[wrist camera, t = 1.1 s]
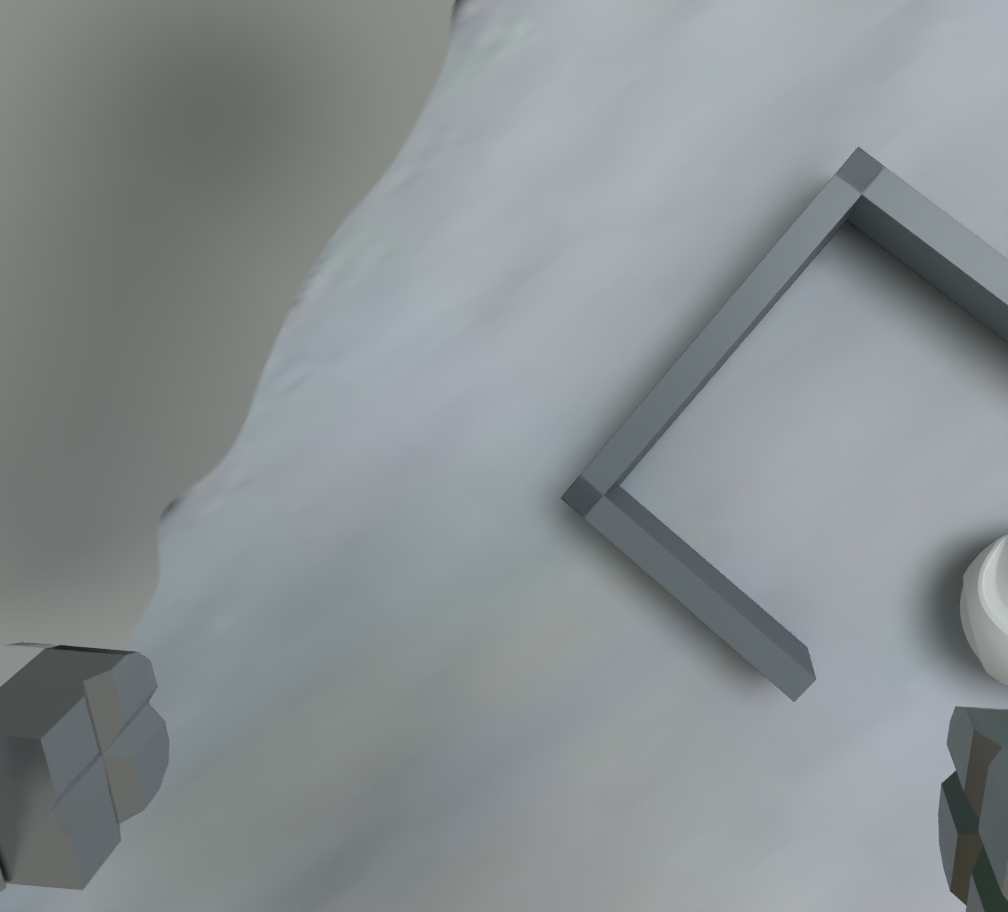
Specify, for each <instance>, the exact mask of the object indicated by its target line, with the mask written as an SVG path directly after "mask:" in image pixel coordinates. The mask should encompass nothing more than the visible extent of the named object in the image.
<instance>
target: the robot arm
mask: <svg viewBox="0 0 1008 912" xmlns="http://www.w3.org/2000/svg"><path fill="white" fill-rule="evenodd" d="M156 688H157V683H156V679H155V675H154V672H153V668H152V664H151V660H149V659H148V658H146V657H145V656H144V655H142V654H141V653H139V652H133V651H122V650H110V649H99V648H88V647H75V646H65V645H59V646H56V645H52V644H38V643H15V644H10V645H5V646H4V647H2V648H1V649H0V891H2V890H3V889H5V888H6V883H10V884H21V885H32V886H44V887H55V888H66V889H77V890H83V889H84V888H85V886H86V885H87V884H88V883H89V881H90V880H91V879H92V877H93V876H94V875H95V873H96V872H97V871H98V870H99V868H100V867H101V866H102V864H103V863H104V862H105V861H106V859H107V858H108V857H109V855H110V854H111V853H112V852H113V850H114V849H115V848H116V846H117V845H118V844H119V842H120V841H121V836H120V823H122V822H123V821H125V820H127V819H129V818H131V817H132V816H134V815H136V814H138V813H139V812H141V811H143V810H145V809H146V807H147V806H148V804H149V803H150V802H151V800H152V799H153V798H154V796H155V795H156V793H157V792H158V791H159V789H160V786H161V783H162V780H163V777H164V774H165V771H166V768H167V765H168V760H169V738H168V733H167V728H166V723H165V721H164V719H163V718H162V717H161V716H160V715H159V714H158V713H157V712H156V711H155V709H154V708H153V707H152V706H151V705H150V704H149V701H150V699H151V697H152V696H153V694H154V692H155V690H156ZM947 746H948V749H949V752H950V755H951V758H952V760H953V763H954V766H955V769H956V771H955V772H954V773H953V774H952V775H951V776H949V777H948V778H947V779H946V780H945V781H944V782H943V783H942V784H941V791H940V801H939V811H938V824H939V846H940V852H941V857H942V863H943V868H944V872H945V875H946V879H947V882H948V886H949V889H950V891H951V892H952V893H953V894H954V895H955V896H956V897H957V898H958V899H960V900H961V901H962V902H963V903H964V904H965V905H966V906H967V907H966V912H1008V709H996V708H976V707H957V706H955V709H954V712H953V714H952V717H951V720H950V725H949V731H948V738H947Z"/></svg>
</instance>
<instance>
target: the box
mask: <svg viewBox="0 0 1008 912" xmlns="http://www.w3.org/2000/svg"><path fill="white" fill-rule="evenodd" d="M847 220H848V221H849V222H851V223H852V224H853V225H854V226H856V227H857V228H858V229H860V230H861V231H862V232H864V233H865V234H866V235H867V236H869V237H870V238H871V239H873V240H874V241H875V242H877V243H878V244H879V245H881V246H882V247H883V248H884V249H886V250H887V251H888V252H890V253H891V254H892V255H894V256H895V257H896V258H897V259H899V260H900V261H901V262H903V263H904V264H905V265H907V266H908V267H909V268H911V269H912V270H913V271H914V272H916V273H917V274H918V275H920V276H921V277H922V278H924V279H925V280H926V281H928V282H929V283H930V284H931V285H933V286H934V287H935V288H937V289H938V290H939V291H941V292H942V293H943V294H944V295H946V296H947V297H948V298H950V299H951V300H952V301H954V302H955V303H956V304H958V305H959V306H960V307H961V308H963V309H964V310H965V311H967V312H968V313H969V314H971V315H972V316H973V317H974V318H976V319H977V320H978V321H980V322H981V323H982V324H984V325H985V326H986V327H988V328H989V329H990V330H991V331H993V332H994V333H995V334H997V335H998V336H999V337H1001V338H1002V339H1003V340H1005V341H1006V342H1007V343H1008V259H1007V258H1006V257H1005V256H1003V255H1002V254H1001V253H999V252H998V251H997V250H995V249H994V248H993V247H991V246H990V245H989V244H987V243H986V242H985V241H983V240H982V239H981V238H979V237H978V236H977V235H975V234H974V233H973V232H971V231H970V230H969V229H967V228H966V227H965V226H963V225H962V224H961V223H959V222H958V221H957V220H955V219H954V218H953V217H951V216H950V215H949V214H947V213H946V212H945V211H943V210H942V209H941V208H939V207H938V206H937V205H935V204H934V203H933V202H931V201H930V200H929V199H927V198H926V197H925V196H923V195H922V194H921V193H919V192H918V191H917V190H915V189H914V188H913V187H911V186H910V185H909V184H907V183H906V182H905V181H903V180H902V179H901V178H899V177H898V176H897V175H895V174H894V173H893V172H891V171H890V170H889V169H887V168H886V167H885V166H883V165H882V164H881V163H879V162H878V161H877V160H875V159H874V158H873V157H871V156H870V155H869V154H867V153H866V152H865V151H863V150H862V149H861V148H859V147H858V148H857V149H856V150H855V151H854V152H853V154H852V155H851V156H850V157H849V158H848V159H847V161H846V162H845V163H844V164H843V165H842V167H841V168H840V169H839V170H838V171H837V172H836V174H835V175H834V176H833V177H832V178H831V179H830V181H829V182H828V183H827V184H826V185H825V187H824V188H823V189H822V190H821V191H820V192H819V194H818V195H817V196H816V197H815V198H814V200H813V201H812V202H811V203H810V204H809V205H808V207H807V208H806V209H805V210H804V211H803V213H802V214H801V215H800V216H799V217H798V218H797V220H796V221H795V222H794V223H793V224H792V226H791V227H790V228H789V229H788V230H787V231H786V233H785V234H784V235H783V236H782V237H781V239H780V240H779V241H778V242H777V243H776V244H775V246H774V247H773V248H772V249H771V250H770V252H769V253H768V254H767V255H766V256H765V257H764V259H763V260H762V261H761V262H760V263H759V264H758V266H757V267H756V268H755V269H754V270H753V272H752V273H751V274H750V275H749V276H748V277H747V279H746V280H745V281H744V282H743V283H742V285H741V286H740V287H739V288H738V289H737V290H736V292H735V293H734V294H733V295H732V296H731V298H730V299H729V300H728V301H727V302H726V303H725V305H724V306H723V307H722V308H721V309H720V311H719V312H718V313H717V314H716V315H715V316H714V318H713V319H712V320H711V321H710V322H709V324H708V325H707V326H706V327H705V328H704V329H703V331H702V332H701V333H700V334H699V335H698V337H697V338H696V339H695V340H694V341H693V342H692V344H691V345H690V346H689V347H688V348H687V349H686V351H685V352H684V353H683V354H682V355H681V357H680V358H679V359H678V360H677V361H676V362H675V364H674V365H673V366H672V367H671V368H670V370H669V371H668V372H667V373H666V374H665V375H664V377H663V378H662V379H661V380H660V381H659V383H658V384H657V385H656V386H655V387H654V388H653V390H652V391H651V392H650V393H649V394H648V396H647V397H646V398H645V399H644V400H643V401H642V403H641V404H640V405H639V406H638V407H637V409H636V410H635V411H634V412H633V413H632V414H631V416H630V417H629V418H628V419H627V420H626V421H625V423H624V424H623V425H622V426H621V427H620V429H619V430H618V431H617V432H616V433H615V434H614V436H613V437H612V438H611V439H610V440H609V442H608V443H607V444H606V445H605V446H604V447H603V449H602V450H601V451H600V452H599V453H598V455H597V456H596V457H595V458H594V459H593V460H592V462H591V463H590V464H589V465H588V466H587V468H586V469H585V470H584V471H583V472H582V473H581V475H580V476H579V477H578V478H577V479H576V481H575V482H574V483H573V484H572V485H571V486H570V488H569V489H568V490H567V491H566V492H565V494H564V495H563V496H562V497H561V499H562V500H563V501H565V502H566V503H567V504H568V505H569V506H570V507H571V508H573V509H574V510H575V511H576V512H577V513H578V514H579V515H581V516H582V517H583V518H584V519H585V520H586V521H587V522H589V523H590V524H591V525H592V526H593V527H594V528H595V529H597V530H598V531H599V532H600V533H601V534H602V535H603V536H605V537H606V538H607V539H608V540H609V541H610V542H611V543H613V544H614V545H615V546H616V547H617V548H618V549H620V550H621V551H622V552H623V553H624V554H625V555H626V556H628V557H629V558H630V559H631V560H632V561H633V562H634V563H636V564H637V565H638V566H639V567H640V568H641V569H642V570H644V571H645V572H646V573H647V574H648V575H649V576H650V577H652V578H653V579H654V580H655V581H656V582H657V583H658V584H660V585H661V586H662V587H663V588H664V589H665V590H666V591H668V592H669V593H670V594H671V595H672V596H673V597H674V598H676V599H677V600H678V601H679V602H680V603H681V604H682V605H684V606H685V607H686V608H687V609H688V610H689V611H690V612H692V613H693V614H694V615H695V616H696V617H697V618H698V619H700V620H701V621H702V622H703V623H704V624H705V625H707V626H708V627H709V628H710V629H711V630H712V631H713V632H715V633H716V634H717V635H718V636H719V637H720V638H721V639H723V640H724V641H725V642H726V643H727V644H728V645H729V646H731V647H732V648H733V649H734V650H735V651H736V652H737V653H739V654H740V655H741V656H742V657H743V658H744V659H745V660H747V661H748V662H749V663H750V664H751V665H752V666H753V667H755V668H756V669H757V670H758V671H759V672H760V673H761V674H763V675H764V676H765V677H766V678H767V679H768V680H769V681H771V682H772V683H773V684H774V685H775V686H776V687H777V688H779V689H780V690H781V691H782V692H783V693H784V694H786V695H787V696H788V697H789V698H790V699H791V700H792V701H794V702H795V701H796V700H797V699H798V698H799V697H800V695H801V694H802V693H803V692H804V691H805V690H806V689H807V688H808V687H809V686H810V685H811V684H812V683H813V682H814V681H815V680H816V677H815V673H814V669H813V666H812V662H811V659H810V655H809V651H808V648H807V647H806V646H805V645H804V644H803V643H802V642H801V641H799V640H798V639H797V638H796V637H795V636H794V635H792V634H791V633H790V632H789V631H788V630H787V629H785V628H784V627H783V626H782V625H781V624H780V623H778V622H777V621H776V620H775V619H774V618H773V617H771V616H770V615H769V614H768V613H767V612H766V611H764V610H763V609H762V608H761V607H760V606H759V605H757V604H756V603H755V602H754V601H753V600H752V599H750V598H749V597H748V596H747V595H746V594H745V593H744V592H742V591H741V590H740V589H739V588H738V587H737V586H735V585H734V584H733V583H732V582H731V581H730V580H728V579H727V578H726V577H725V576H724V575H723V574H721V573H720V572H719V571H718V570H717V569H716V568H714V567H713V566H712V565H711V564H710V563H709V562H707V561H706V560H705V559H704V558H703V557H702V556H700V555H699V554H698V553H697V552H696V551H695V550H694V549H692V548H691V547H690V546H689V545H688V544H687V543H685V542H684V541H683V540H682V539H681V538H680V537H678V536H677V535H676V534H675V533H674V532H673V531H671V530H670V529H669V528H668V527H667V526H666V525H664V524H663V523H662V522H661V521H660V520H659V519H657V518H656V517H655V516H654V515H653V514H652V513H650V512H649V511H648V510H647V509H646V508H645V507H644V506H642V505H641V504H640V503H639V502H638V501H637V500H635V499H634V498H633V497H632V496H631V495H630V494H628V493H627V492H626V491H625V490H624V489H623V488H621V487H620V486H619V485H620V484H621V482H622V481H623V480H624V479H625V478H626V477H627V476H628V474H629V473H630V472H631V471H632V470H633V469H634V467H635V466H636V465H637V464H638V463H639V462H640V460H641V459H642V458H643V457H644V456H645V455H646V453H647V452H648V451H649V450H650V449H651V448H652V446H653V445H654V444H655V443H656V442H657V441H658V439H659V438H660V437H661V436H662V435H663V434H664V432H665V431H666V430H667V429H668V428H669V427H670V426H671V424H672V423H673V422H674V421H675V420H676V419H677V417H678V416H679V415H680V414H681V413H682V412H683V410H684V409H685V408H686V407H687V406H688V405H689V403H690V402H691V401H692V400H693V399H694V398H695V396H696V395H697V394H698V393H699V392H700V391H701V389H702V388H703V387H704V386H705V385H706V384H707V383H708V381H709V380H710V379H711V378H712V377H713V376H714V374H715V373H716V372H717V371H718V370H719V369H720V367H721V366H722V365H723V364H724V363H725V362H726V360H727V359H728V358H729V357H730V356H731V355H732V353H733V352H734V351H735V350H736V349H737V348H738V346H739V345H740V344H741V343H742V342H743V341H744V339H745V338H746V337H747V336H748V335H749V334H750V333H751V331H752V330H753V329H754V328H755V327H756V326H757V324H758V323H759V322H760V321H761V320H762V319H763V317H764V316H765V315H766V314H767V313H768V312H769V310H770V309H771V308H772V307H773V306H774V305H775V303H776V302H777V301H778V300H779V299H780V298H781V296H782V295H783V294H784V293H785V292H786V291H787V290H788V288H789V287H790V286H791V285H792V284H793V283H794V281H795V280H796V279H797V278H798V277H799V276H800V274H801V273H802V272H803V271H804V270H805V269H806V267H807V266H808V265H809V264H810V263H811V262H812V260H813V259H814V258H815V257H816V256H817V255H818V253H819V252H820V251H821V250H822V249H823V248H824V246H825V245H826V244H827V243H828V242H829V241H830V240H831V238H832V237H833V236H834V235H835V234H836V233H837V231H838V230H839V229H840V228H841V227H842V226H843V224H844V223H845V222H846V221H847Z"/></svg>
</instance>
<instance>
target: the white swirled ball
mask: <svg viewBox="0 0 1008 912" xmlns="http://www.w3.org/2000/svg"><path fill="white" fill-rule="evenodd" d="M963 583H964V584H963V588H962V592H961V598H960V616H961V622H962V626H963V630H964V633H965V636H966V638H967V641H968V643H969V645H970V646H971V648H972V650H973V651H974V653H975V654H976V656H977V657H978V659H979V660H980V661H981V663H982V664H983V667H984V670H985V671H986V673H988V674H989V675H990V676H992V677H993V678H994V679H996V680H997V681H999V682H1001V683H1002V684H1004V685H1005V686H1007V687H1008V534H1007V535H1004V536H1002V537H1000V538H998V539H997V540H995V541H994V542H993V543H991V544H990V545H989V546H987V547H986V548H985V549H984V550H983V551H982V552H981V553H980V554H979V555H978V556H977V557H976V558H975V559H974V561H973V562H972V563H971V564H970V566H969V567H968V569H967V570H966V572H965V573H964V575H963Z"/></svg>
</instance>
